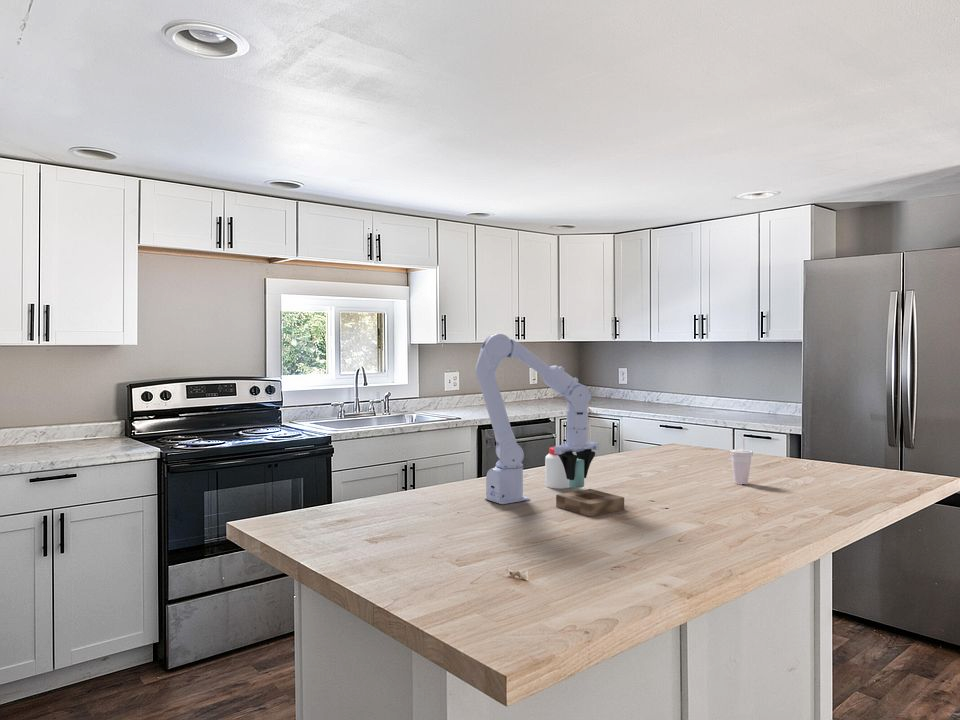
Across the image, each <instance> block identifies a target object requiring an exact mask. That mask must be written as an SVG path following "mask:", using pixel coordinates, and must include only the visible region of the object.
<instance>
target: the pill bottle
mask: <svg viewBox="0 0 960 720" xmlns="http://www.w3.org/2000/svg"><path fill="white" fill-rule="evenodd" d="M544 458H545V459H544V462H545V464H544V486H545V487H546V488H550V489H561V490H562V489H571V487H570V486H569V479H567V477H566V473H565V469H564V466H563V463H562V461H561V459H560V457H559V456H558V454H555V453H554V446H551V447H549V448H548V454H546V455H545V457H544Z"/></svg>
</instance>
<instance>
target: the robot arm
mask: <svg viewBox="0 0 960 720" xmlns="http://www.w3.org/2000/svg"><path fill="white" fill-rule="evenodd" d="M506 358H510V359H517V360H519V361H521V362H522V363H523V364H524V365H526V366H528V367H529V368H531V369H532V370H534V371H535V372H537V373H538V374H539V375H541V376H542V382H543V383H544V384H545V385H546V386H547V387H549V388H550V389H552V390H553V391H555V393H557V394H558V395H560V396H562V397H564V399H565V401H566V425H565V427H566V429H565V430H566V435H565V437H566V440H565V441H566V442H565V443H563V444H560V445H554V446H553V447H554V453H555V454H558V456H559V457H560V459H561V461H562V463H563V466H564V469H565V473H566V477H567V479H569V480H574V476H575V465H576V461H577V459H582V460H584V479H586V478H587V476H588V471H589V469H590V466H591V464H592V462H593V459H594V457H596V451H597V450H599V448H600V445H599V442H596V441H589V439H588V438H589V411H588V410H589V405H588V404H589V403H590V401H591V399H592V394H591V391H590V389H589V387H588V386H587V385H585V384H582V383H580V382H579V379H578V377H573V376H572V375H570V374H569V373H567V372H566V371H565V367H563V366H561V365H560V366H558V365H550V366H549V365H548V364H547V363H546V362H545V361H543V360H542V359H541V358H539V357H538V356H537V355H535V354H534V353H533V352H532V351H531V350H530V349H528V348H526V347H525V346H524V345H523V344H522V343H520V342H518V341H516V340H514V339H512V338H510V337H509V336H508V335H506V334H504V333H495V334H494V333H492V334H491V335H489V336H488V337H487V338H486V339H485V340H484V341H483V343H482V344H481V346H480V350H479V353H478V357H477V361H476V363H475V367H474V370H475V374H476V377H477V380H478V384H479V387H480V391H481V394H482V397H483V401H484V404H485V407H486V410H487V413H488V417H489V420H490V423H491V426H492V429H493V433H494V439H495V443H496V445H495V454H496V456H497V458H498V460H497V461H496V463H495V466H494V467H493V468H490V469H488V470H487V472H486V477H485V485H486V488H485V492H486V493H485V494H486V495H485V496H484V500H488V501H491V502H494V503H497V504H500V505H507V504H513V503H518V502H524V501H529V500H530V497H528V496H525V495H524V489H523V488H524V487H523V486H524V484H523V483H524V477H523V476H524V464H523V463H522V462H523V461H524V458H525V453H524V451H523V447H521V446H520V445H519V444H518V442H517V439H516V437H515V434H514V431H513V429H512V427H511V423H510V419H509V416H508V413H507V410H506V407H505V404H504V400H503V396H502V393H501V391H500V387H499V384H498V383H499V382H498V381H497V377H496V374H495V372H496V370H497V368H498V367H499V365H500V363H502V361H504V360H505V359H506ZM594 450H595V451H594Z"/></svg>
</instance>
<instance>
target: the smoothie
mask: <svg viewBox="0 0 960 720" xmlns="http://www.w3.org/2000/svg"><path fill="white" fill-rule="evenodd" d="M741 441H742V443H741V444H742V445H741V448H737V449H736V448H734V449H730V450H729V454H730V455H731V466H732V474H733V475H732V477H733V482H734V483H733V484H735V485H739V484H740V485H741V486H743V485H742V484H747V485H748V484H749V483H748V482H749V477H750V470H751V464H752V463H751V462H752V456H754V455H753V453H754V452H753V451H752V450H750V449H745V436H744V435H743V436H742V440H741ZM740 485H739V486H740Z"/></svg>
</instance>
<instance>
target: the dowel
mask: <svg viewBox="0 0 960 720" xmlns="http://www.w3.org/2000/svg"><path fill="white" fill-rule="evenodd" d="M569 486H570V488H575V489H577V488H584V487H585V478H584V460H582V459H578V458H577V461H576V465H575V476H574V480H569Z"/></svg>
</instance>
